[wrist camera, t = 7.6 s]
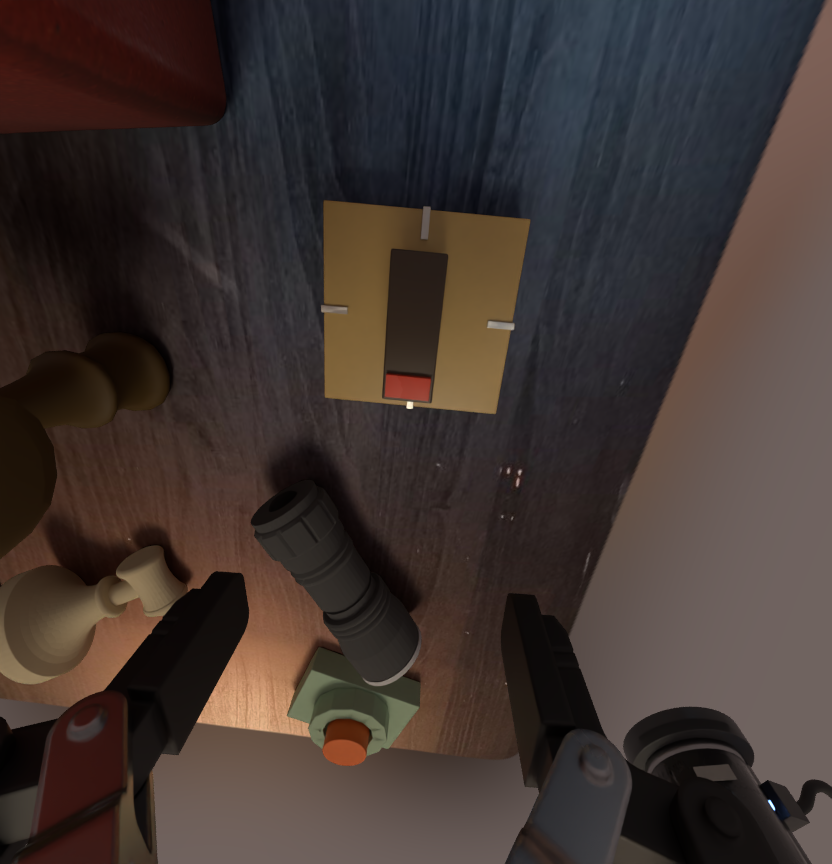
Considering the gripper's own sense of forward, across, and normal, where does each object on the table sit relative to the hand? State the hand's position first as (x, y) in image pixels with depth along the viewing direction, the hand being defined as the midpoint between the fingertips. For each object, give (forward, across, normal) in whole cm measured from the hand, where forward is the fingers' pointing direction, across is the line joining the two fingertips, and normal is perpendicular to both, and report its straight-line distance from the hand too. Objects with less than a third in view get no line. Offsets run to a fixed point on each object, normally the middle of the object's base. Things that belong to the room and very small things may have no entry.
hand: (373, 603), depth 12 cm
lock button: (+12, +4, +27) cm, 29 cm away
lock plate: (+15, 0, -7) cm, 17 cm away
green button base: (+15, +4, +27) cm, 31 cm away
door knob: (+15, +23, +15) cm, 31 cm away
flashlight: (+15, +4, +12) cm, 20 cm away
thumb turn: (+12, 0, -7) cm, 14 cm away
